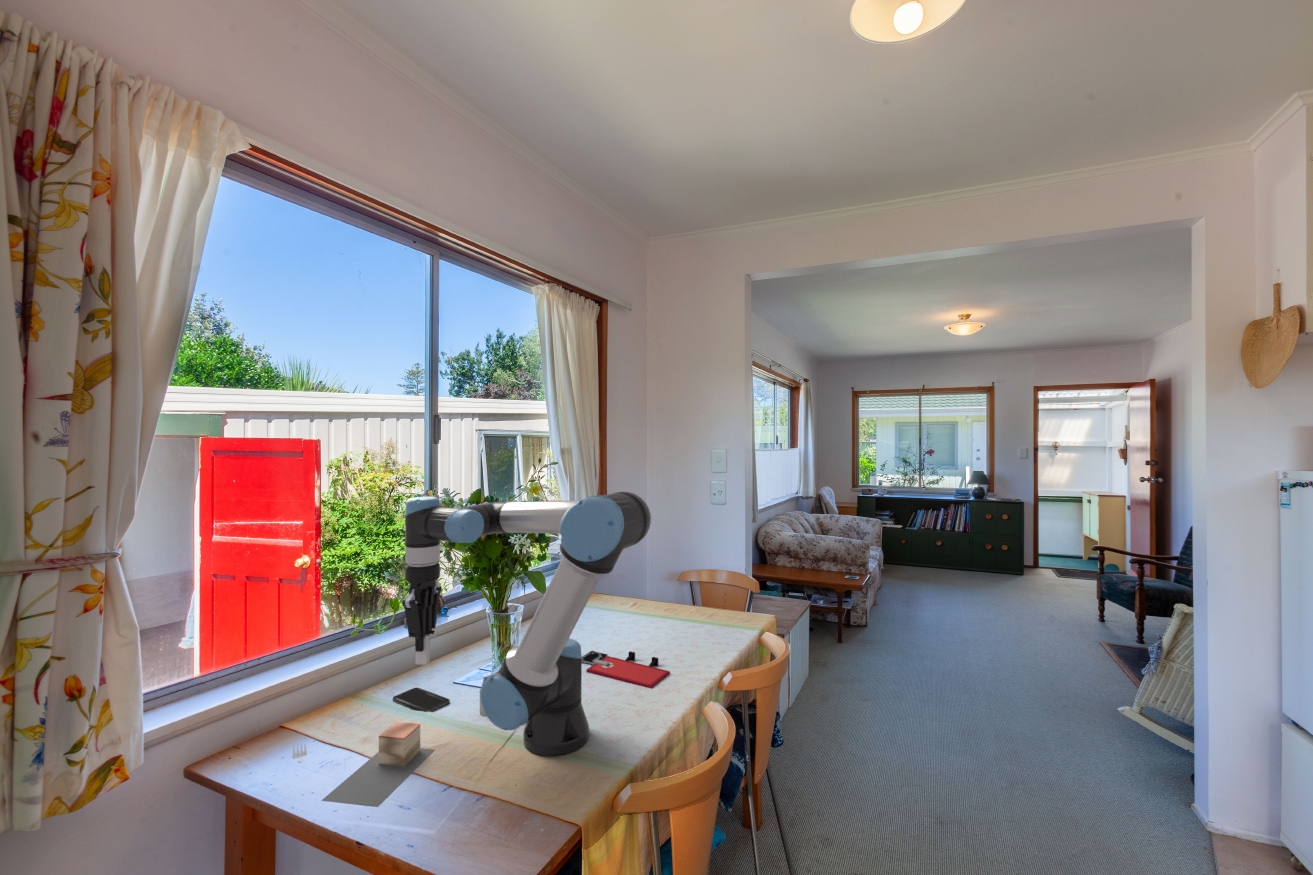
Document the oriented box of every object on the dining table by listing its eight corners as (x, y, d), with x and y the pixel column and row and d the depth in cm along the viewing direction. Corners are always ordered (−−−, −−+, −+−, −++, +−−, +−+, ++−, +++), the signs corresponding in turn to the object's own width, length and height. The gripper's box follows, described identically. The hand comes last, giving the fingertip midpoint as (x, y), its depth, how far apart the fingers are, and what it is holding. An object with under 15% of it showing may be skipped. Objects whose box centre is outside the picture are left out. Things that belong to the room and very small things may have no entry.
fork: (297, 789, 115) (297, 779, 115) (292, 754, 128) (292, 745, 128) (312, 785, 117) (312, 775, 117) (306, 750, 130) (306, 741, 130)
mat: (435, 752, 128) (435, 749, 128) (377, 809, 109) (377, 806, 109) (386, 747, 130) (386, 744, 130) (321, 803, 110) (321, 799, 110)
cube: (420, 750, 128) (420, 723, 128) (404, 765, 122) (404, 737, 122) (395, 748, 129) (395, 721, 129) (378, 763, 123) (378, 735, 123)
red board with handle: (595, 651, 188) (566, 668, 175) (595, 642, 188) (566, 659, 175) (675, 671, 174) (651, 691, 161) (675, 661, 174) (651, 681, 161)
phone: (426, 711, 145) (390, 697, 153) (426, 716, 145) (390, 701, 153) (451, 699, 152) (416, 686, 160) (451, 703, 152) (416, 690, 160)
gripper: (423, 556, 141) (423, 651, 141) (390, 568, 128) (390, 673, 128) (451, 557, 140) (451, 653, 140) (421, 570, 127) (421, 675, 127)
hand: (422, 663), depth 134 cm, fingers closed
